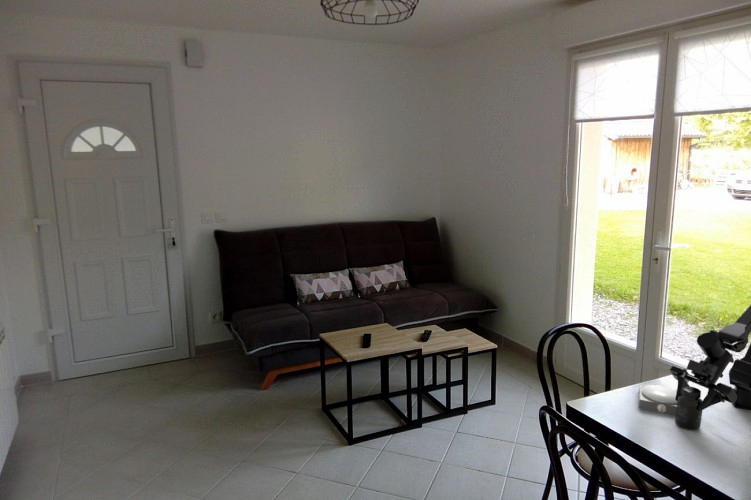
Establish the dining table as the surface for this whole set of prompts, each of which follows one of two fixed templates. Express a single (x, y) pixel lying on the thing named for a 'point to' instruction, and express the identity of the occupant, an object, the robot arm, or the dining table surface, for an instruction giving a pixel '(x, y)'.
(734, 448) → the dining table surface
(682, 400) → the supplement bottle
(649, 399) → the kitchen scale
